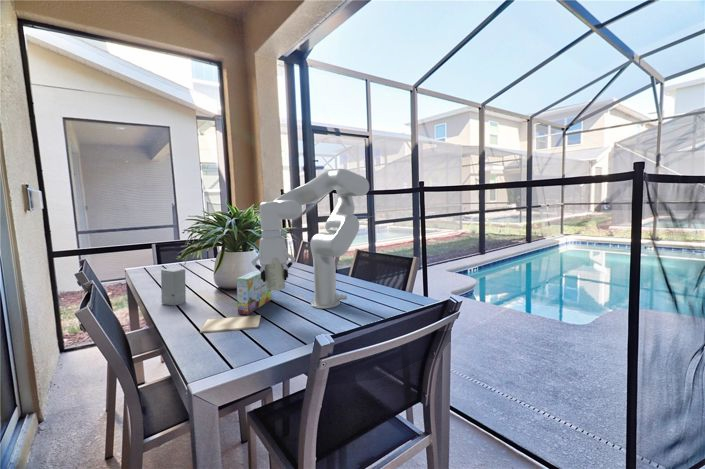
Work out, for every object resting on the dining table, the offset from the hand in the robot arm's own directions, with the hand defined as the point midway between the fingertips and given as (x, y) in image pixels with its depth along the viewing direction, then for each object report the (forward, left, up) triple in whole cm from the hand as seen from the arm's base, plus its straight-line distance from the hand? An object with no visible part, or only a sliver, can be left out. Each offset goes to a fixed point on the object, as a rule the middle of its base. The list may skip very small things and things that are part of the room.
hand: (275, 280), depth 131 cm
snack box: (+9, -20, -16) cm, 27 cm away
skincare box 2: (0, 0, -4) cm, 4 cm away
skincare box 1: (+46, -34, -16) cm, 60 cm away
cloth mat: (+16, 0, -16) cm, 23 cm away
